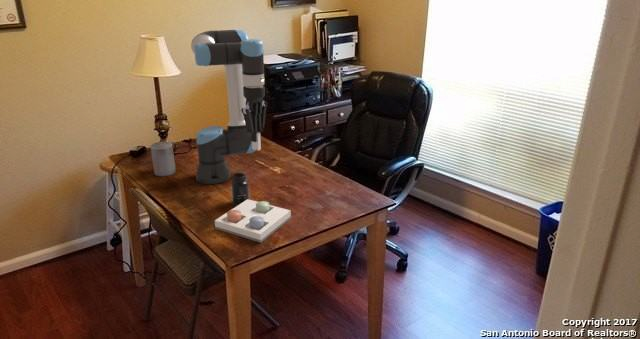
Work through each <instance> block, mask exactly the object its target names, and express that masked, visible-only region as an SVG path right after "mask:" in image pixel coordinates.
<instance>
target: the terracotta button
mask: <svg viewBox="0 0 640 339" xmlns="http://www.w3.org/2000/svg"><path fill="white" fill-rule="evenodd" d="M230 210H231V211H230ZM230 210H229V211H227V212H226V213H227V220H228V222H232V223H235V224H236V223H238V222H239V221H241V212H240V211H239V210H232V209H230Z"/></svg>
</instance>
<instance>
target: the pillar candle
mask: <svg viewBox="0 0 640 339" xmlns="http://www.w3.org/2000/svg"><path fill="white" fill-rule="evenodd" d="M149 147H150V154H151V160H152V166H153V167H152V168H153V172H154V175H155V176H156V177H157V176H158V177H166V176H171V175H173V174H175V173H176V171H177V168H176V162H175V155H174V154H175V153H174V149H173V148H174V147H173V143H172V142H170V141H157V142H154V143H152V144H151V145H150V146H149Z"/></svg>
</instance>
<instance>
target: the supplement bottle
mask: <svg viewBox="0 0 640 339" xmlns="http://www.w3.org/2000/svg"><path fill="white" fill-rule="evenodd" d="M230 187H231V201H232V204H233V205H235V206H238V205H239V204H241V203H243V202H244V201H246V200H247V199H249V200H250V190H249V189H250V188H249V182H248V180H247V177H246V174H245V173H243V172H239V173H238V172H237V173H235V174H233V181H232V182H231V186H230Z"/></svg>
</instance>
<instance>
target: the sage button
mask: <svg viewBox="0 0 640 339" xmlns="http://www.w3.org/2000/svg"><path fill="white" fill-rule="evenodd" d="M256 202H257V203H256V212H259V213H262V214H266V213H267V212H269V205H270V202H268V201H265V200H262V201H256Z"/></svg>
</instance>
